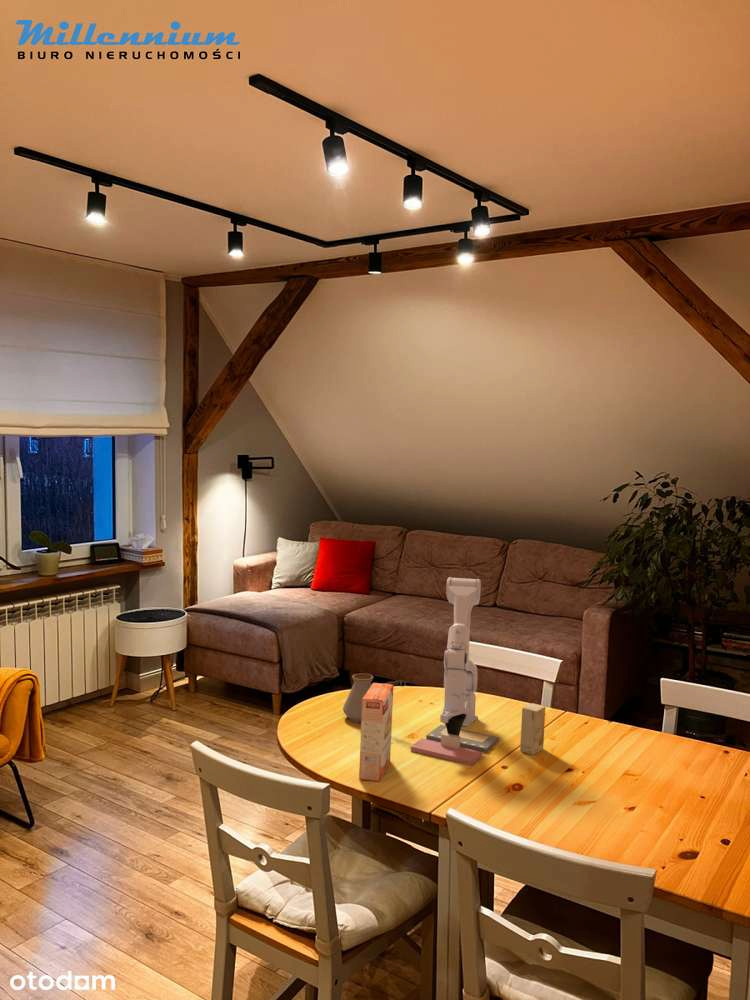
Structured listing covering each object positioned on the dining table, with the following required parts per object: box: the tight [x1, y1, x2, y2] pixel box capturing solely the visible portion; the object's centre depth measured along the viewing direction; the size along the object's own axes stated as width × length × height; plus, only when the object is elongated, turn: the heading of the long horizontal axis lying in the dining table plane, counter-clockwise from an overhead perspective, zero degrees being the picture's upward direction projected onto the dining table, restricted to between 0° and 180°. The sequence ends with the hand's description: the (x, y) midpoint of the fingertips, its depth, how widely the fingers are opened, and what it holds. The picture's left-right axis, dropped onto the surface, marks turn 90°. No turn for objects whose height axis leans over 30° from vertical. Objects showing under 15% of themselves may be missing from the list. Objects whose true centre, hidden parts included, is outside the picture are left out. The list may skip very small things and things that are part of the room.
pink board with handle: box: [410, 733, 483, 766], centre depth 222 cm, size 7×18×4 cm, turn 61°
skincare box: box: [519, 702, 546, 755], centre depth 226 cm, size 6×4×12 cm
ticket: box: [425, 724, 500, 754], centre depth 232 cm, size 10×18×1 cm, turn 61°
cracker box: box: [358, 682, 395, 782], centre depth 209 cm, size 14×6×21 cm, turn 168°
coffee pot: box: [342, 673, 407, 723], centre depth 244 cm, size 21×12×15 cm, turn 51°
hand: (453, 740), depth 226 cm, fingers closed
